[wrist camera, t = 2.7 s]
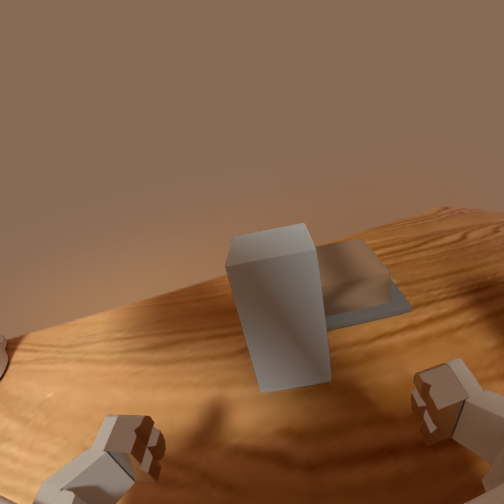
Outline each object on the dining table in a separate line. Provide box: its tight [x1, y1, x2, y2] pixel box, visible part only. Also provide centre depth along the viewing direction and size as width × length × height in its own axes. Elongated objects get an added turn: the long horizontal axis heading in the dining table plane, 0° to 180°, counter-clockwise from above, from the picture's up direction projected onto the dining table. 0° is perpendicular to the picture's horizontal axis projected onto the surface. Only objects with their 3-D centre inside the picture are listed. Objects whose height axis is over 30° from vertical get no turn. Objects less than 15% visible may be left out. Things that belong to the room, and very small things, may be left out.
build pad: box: [325, 280, 412, 330], centre depth 31 cm, size 12×12×1 cm
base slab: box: [315, 238, 391, 317], centre depth 31 cm, size 9×9×3 cm
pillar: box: [225, 223, 332, 393], centre depth 21 cm, size 5×5×10 cm
